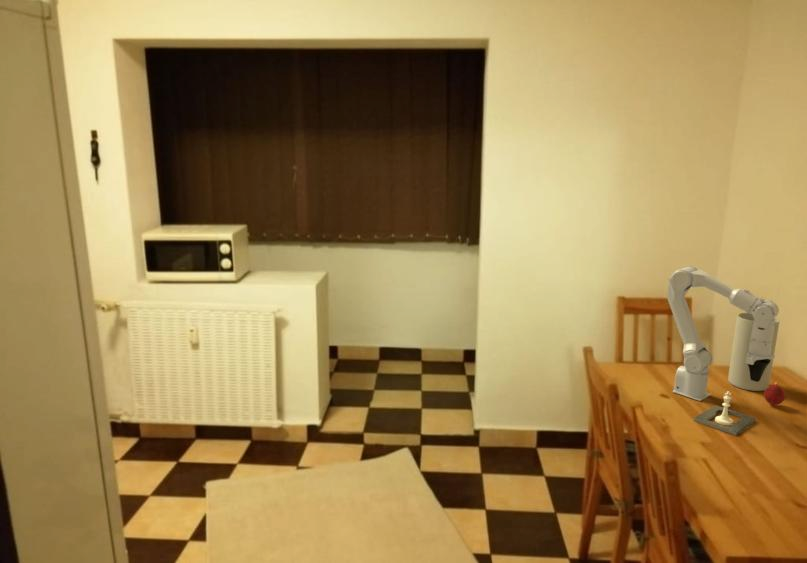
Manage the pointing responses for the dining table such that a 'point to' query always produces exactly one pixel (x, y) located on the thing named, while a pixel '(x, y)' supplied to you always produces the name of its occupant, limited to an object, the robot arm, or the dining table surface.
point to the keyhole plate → (733, 429)
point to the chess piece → (725, 412)
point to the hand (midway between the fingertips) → (755, 380)
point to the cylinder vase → (741, 343)
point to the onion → (774, 394)
